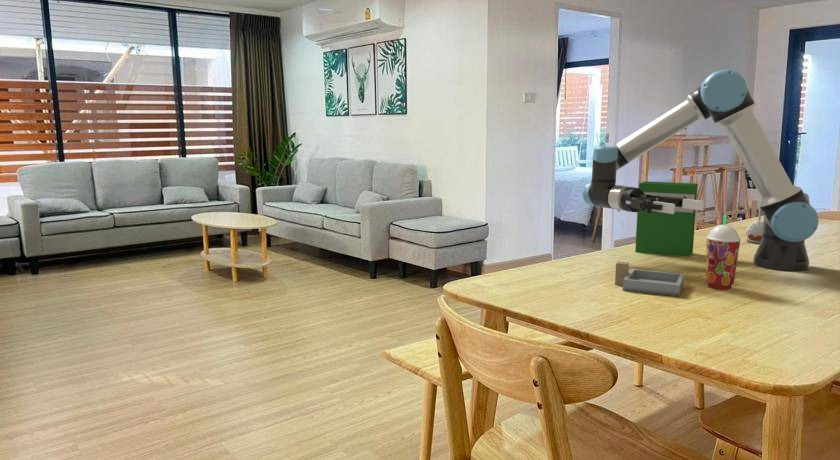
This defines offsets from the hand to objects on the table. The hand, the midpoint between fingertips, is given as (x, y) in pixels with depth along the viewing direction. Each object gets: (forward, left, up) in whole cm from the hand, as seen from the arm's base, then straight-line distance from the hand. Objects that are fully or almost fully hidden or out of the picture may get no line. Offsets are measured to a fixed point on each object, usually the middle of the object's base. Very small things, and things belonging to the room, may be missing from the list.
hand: (689, 207), depth 179 cm
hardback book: (+10, -38, -21) cm, 45 cm away
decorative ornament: (-19, -74, -21) cm, 80 cm away
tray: (+8, +13, -21) cm, 26 cm away
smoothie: (-9, +5, -21) cm, 24 cm away
